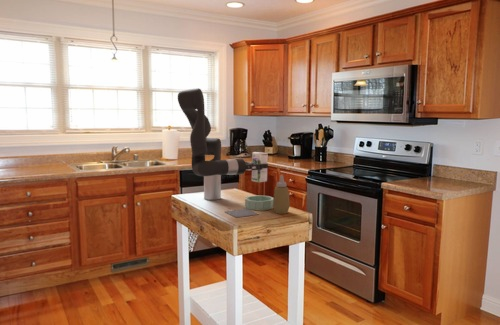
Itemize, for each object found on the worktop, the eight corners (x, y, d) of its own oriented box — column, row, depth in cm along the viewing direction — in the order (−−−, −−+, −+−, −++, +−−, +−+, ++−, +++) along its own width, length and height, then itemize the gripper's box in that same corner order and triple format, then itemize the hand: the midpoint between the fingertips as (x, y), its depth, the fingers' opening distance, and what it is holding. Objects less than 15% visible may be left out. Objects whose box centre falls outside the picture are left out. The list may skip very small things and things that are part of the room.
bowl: (240, 205, 200) (240, 197, 200) (263, 202, 207) (263, 194, 207) (254, 211, 188) (254, 202, 188) (278, 208, 195) (279, 199, 195)
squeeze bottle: (283, 209, 192) (284, 173, 190) (293, 213, 185) (293, 175, 183) (269, 211, 188) (269, 174, 186) (278, 215, 181) (279, 176, 179)
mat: (224, 212, 187) (224, 211, 187) (246, 209, 193) (246, 208, 193) (236, 217, 177) (236, 217, 177) (259, 214, 183) (259, 213, 183)
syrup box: (251, 181, 196) (251, 152, 195) (260, 180, 200) (260, 151, 198) (258, 182, 192) (259, 152, 190) (267, 181, 196) (268, 152, 194)
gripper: (241, 160, 181) (271, 158, 190) (227, 157, 194) (256, 156, 202) (241, 176, 182) (271, 174, 191) (227, 172, 195) (256, 170, 203)
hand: (263, 165), depth 196 cm, fingers closed on syrup box, 6 cm apart
